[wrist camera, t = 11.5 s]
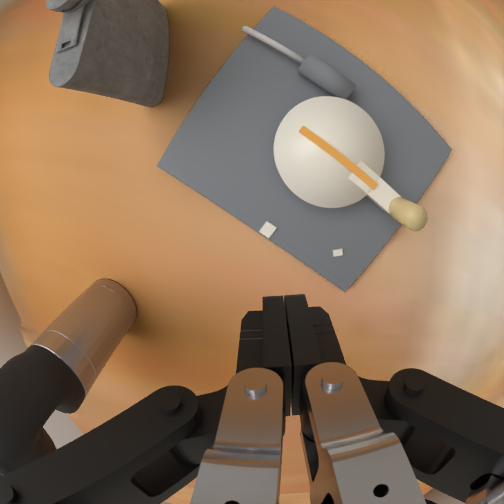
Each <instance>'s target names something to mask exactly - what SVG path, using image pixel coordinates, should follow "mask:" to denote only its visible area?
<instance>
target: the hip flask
mask: <svg viewBox="0 0 504 504" xmlns="http://www.w3.org/2000/svg"><path fill="white" fill-rule="evenodd" d="M46 5H47V7H48V8H49V9H50V10H53V11H56V12H57V11H58V12H59V11H60V12H62V13H64V14H63V18H62V23H61V27H60V32H59V36H58V40H57V44H56V48H55V52H54V55H53V59H52V63H51V67H50V71H49V80H50V83H51V84H52V85H53V86H55V87H61V88H67V89H72V90H78V91H83V92H88V93H93V94H98V95H102V96H107V97H111V98H116V99H120V100H124V101H128V102H132V103H135V104H139V105H143V106H146V107H154V106H156V105H158V104H159V103H160V102H161V100H162V98H163V95H164V90H165V85H166V79H167V71H168V61H169V24H168V17H167V12H166V9H165V8H164V7H163V5H162V4H161V3H160V2H159V1H158V0H47V3H46Z"/></svg>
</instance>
